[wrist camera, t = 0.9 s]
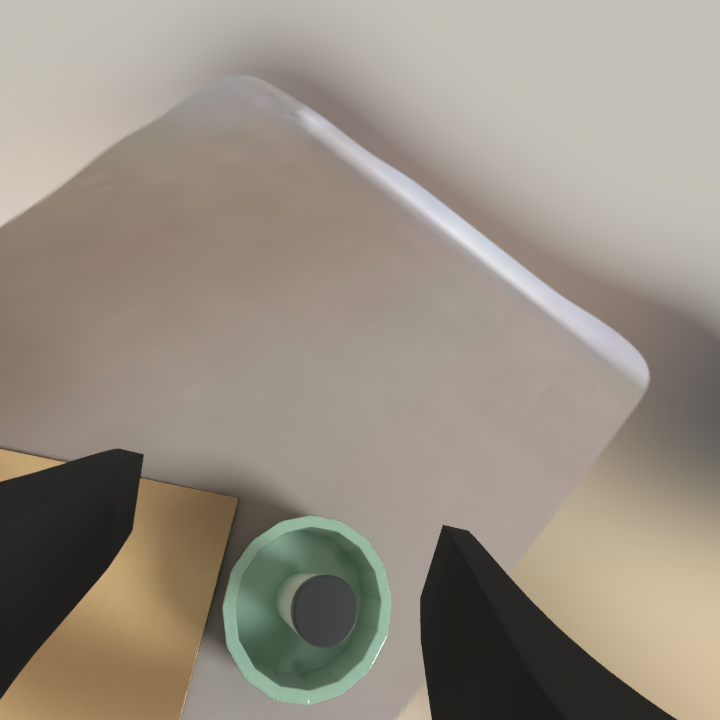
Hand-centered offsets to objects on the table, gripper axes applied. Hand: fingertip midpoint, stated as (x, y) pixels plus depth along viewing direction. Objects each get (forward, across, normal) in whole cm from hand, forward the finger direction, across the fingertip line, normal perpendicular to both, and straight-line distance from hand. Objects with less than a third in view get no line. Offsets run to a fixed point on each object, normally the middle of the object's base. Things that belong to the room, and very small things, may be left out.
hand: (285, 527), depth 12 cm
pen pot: (+10, -1, +10) cm, 15 cm away
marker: (+10, -1, +10) cm, 14 cm away
